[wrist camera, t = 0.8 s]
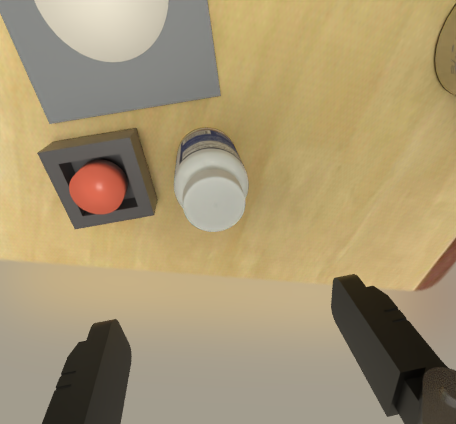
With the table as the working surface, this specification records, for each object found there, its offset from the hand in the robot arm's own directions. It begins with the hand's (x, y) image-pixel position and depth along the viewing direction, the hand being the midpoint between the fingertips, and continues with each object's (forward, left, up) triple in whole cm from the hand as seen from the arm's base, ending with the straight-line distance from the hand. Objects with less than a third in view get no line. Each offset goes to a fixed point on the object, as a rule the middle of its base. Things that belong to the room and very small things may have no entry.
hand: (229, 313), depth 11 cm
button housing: (+9, 0, -18) cm, 20 cm away
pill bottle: (0, 0, -18) cm, 18 cm away
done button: (+9, 0, -16) cm, 18 cm away
